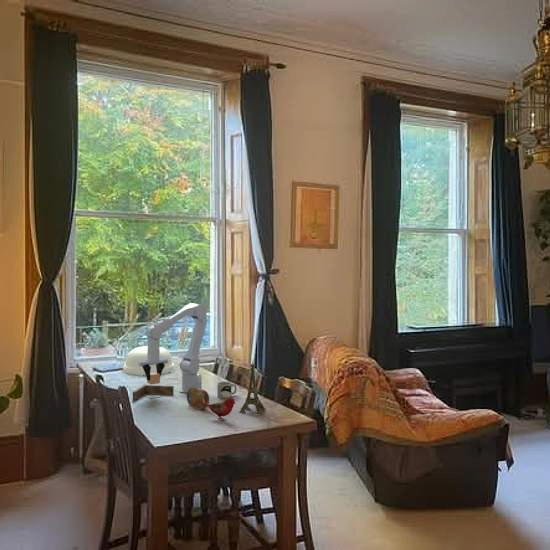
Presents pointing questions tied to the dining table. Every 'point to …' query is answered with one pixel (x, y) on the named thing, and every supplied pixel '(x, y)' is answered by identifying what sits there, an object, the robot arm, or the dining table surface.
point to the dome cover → (141, 355)
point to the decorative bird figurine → (221, 407)
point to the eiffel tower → (254, 399)
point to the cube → (154, 378)
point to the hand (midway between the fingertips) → (153, 379)
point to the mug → (225, 390)
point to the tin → (197, 398)
